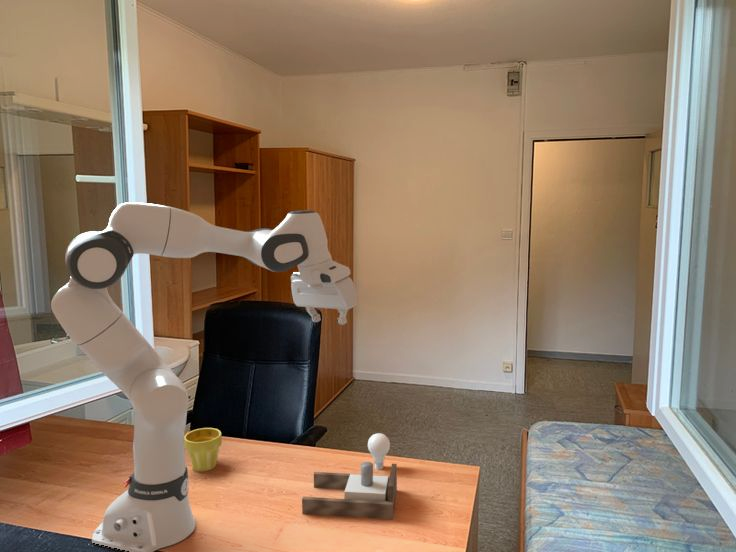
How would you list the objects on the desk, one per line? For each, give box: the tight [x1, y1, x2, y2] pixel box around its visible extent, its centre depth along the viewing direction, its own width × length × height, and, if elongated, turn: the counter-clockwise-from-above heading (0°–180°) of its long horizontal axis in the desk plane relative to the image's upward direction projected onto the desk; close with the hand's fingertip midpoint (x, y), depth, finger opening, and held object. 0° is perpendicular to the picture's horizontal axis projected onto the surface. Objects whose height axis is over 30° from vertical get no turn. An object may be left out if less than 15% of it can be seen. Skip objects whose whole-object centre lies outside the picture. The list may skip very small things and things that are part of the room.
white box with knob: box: [344, 461, 389, 502], centre depth 138 cm, size 10×9×10 cm
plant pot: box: [184, 427, 223, 472], centre depth 160 cm, size 10×10×10 cm
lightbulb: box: [367, 432, 391, 471], centre depth 156 cm, size 6×6×11 cm
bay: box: [301, 463, 398, 521], centre depth 138 cm, size 22×14×9 cm, turn 83°
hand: (329, 322), depth 142 cm, fingers open, 8 cm apart
